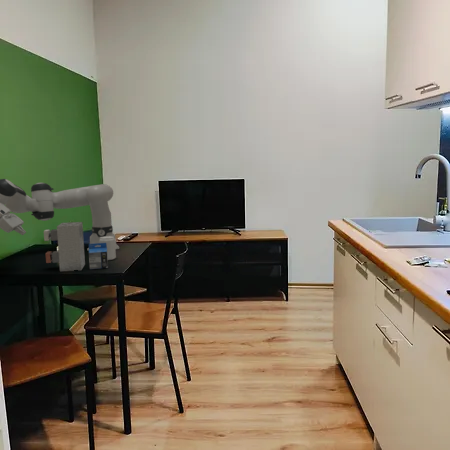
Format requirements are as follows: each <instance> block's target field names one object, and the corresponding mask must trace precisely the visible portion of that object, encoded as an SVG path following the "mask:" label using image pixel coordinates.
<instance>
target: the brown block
mask: <svg viewBox="0 0 450 450" xmlns="http://www.w3.org/2000/svg"><path fill="white" fill-rule="evenodd" d="M52 253H53V251H49V250H48V251H46V252H45V263H46V264H49V263H50V264H51V263H53V260H52Z"/></svg>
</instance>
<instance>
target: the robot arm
mask: <svg viewBox="0 0 450 450" xmlns="http://www.w3.org/2000/svg"><path fill="white" fill-rule="evenodd" d="M54 190H55V189H54V188H53V187H52V186H51V185H49V183H45V182H36V183H34V184H32V185H31V188H30V192H31V197H30V196H29V195H27V193H26V191H25V190H24V189H22V188H21V187H20V186H18V185H17V184H15V183H13V182H12V181H10V179H6V178H0V230H2V231H3V232H5V233H7V234H8V233H11V232H13V231H14V232H16V233H18V234H20V235H21V236H24V235H25V234H26V233H27V231H26V230H25V229H24V228H23V226H22V225H24V224H25V222H24V220H22V219H21V217H19V216H18V215H16V214H23V213H28V212H31V216H33V217H34V218H35V219H37V220H38V221H44V222H45V221H49V220H51V219H53V218H54V216H55V211H54V209H58V210H61V209H63V210H65V209H73V208H80V207H85V206H89V207H90V212H91V223H92V226H91V233H92V234H91V235H90V236H89V244H94V243H100V237H104V236H113V237H114V238H115V249H116V250H119V249H120V246H119V245H118V244H117V239H116V235H115V234H114V231H113V230H114V229H113V228H114V227H113V224H112V213H111V210H110V207H109V202H110V200H111V199H112V198H113V196H114V189H113V188H112V187H111V186H110V185H108V184H105V183H102V184H95V185H89V186H88V185H87V186H82V187H76V188H70V189H64V190H60V191H57V192H54ZM95 247H100V245H97V246H95ZM86 249H87V250H86V251H89V247H88V248H86Z"/></svg>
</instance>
